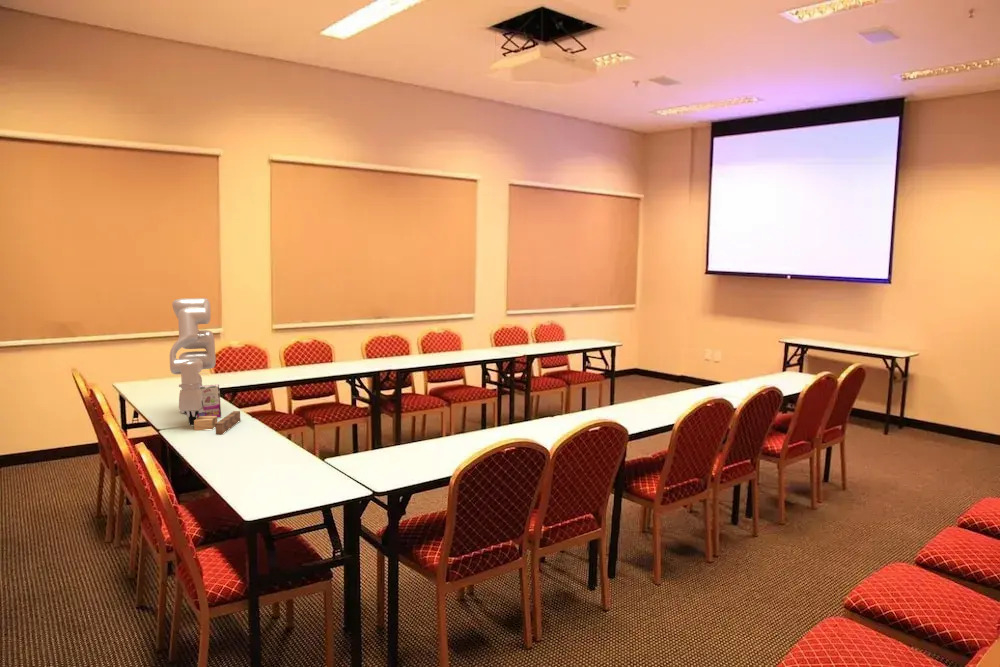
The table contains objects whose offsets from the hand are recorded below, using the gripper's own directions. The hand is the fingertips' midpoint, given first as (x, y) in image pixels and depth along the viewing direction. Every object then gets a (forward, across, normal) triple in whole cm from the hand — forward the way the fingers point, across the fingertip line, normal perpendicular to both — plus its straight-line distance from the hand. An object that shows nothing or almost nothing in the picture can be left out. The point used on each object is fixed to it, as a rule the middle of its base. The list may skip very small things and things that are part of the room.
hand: (192, 424), depth 316 cm
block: (+2, +6, 0) cm, 7 cm away
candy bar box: (+2, 0, +19) cm, 19 cm away
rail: (+2, +17, 0) cm, 17 cm away
